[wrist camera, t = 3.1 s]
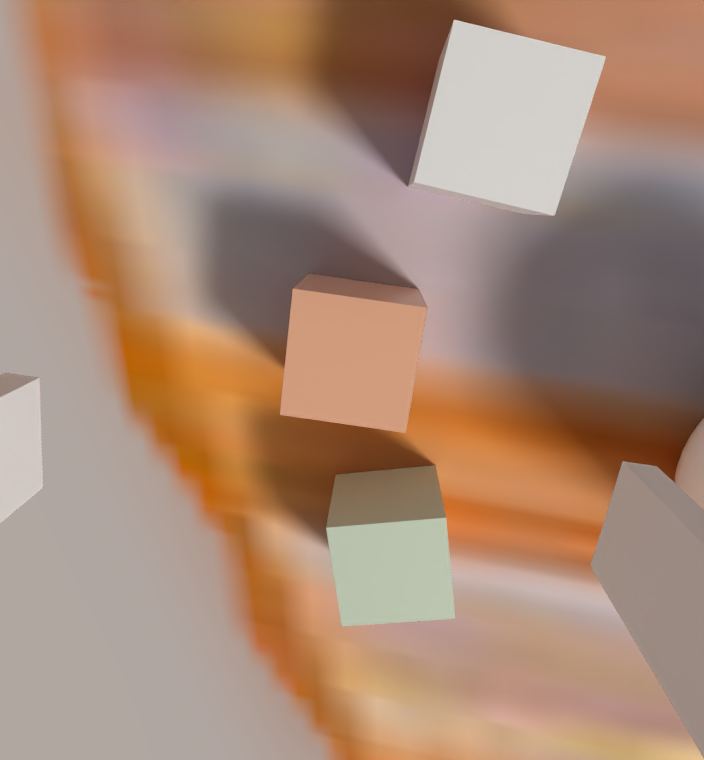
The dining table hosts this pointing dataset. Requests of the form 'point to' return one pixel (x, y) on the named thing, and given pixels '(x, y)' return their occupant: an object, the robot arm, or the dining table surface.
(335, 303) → the terracotta block
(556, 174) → the grey block
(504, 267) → the dining table surface
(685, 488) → the lidded bowl
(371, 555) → the sage block
